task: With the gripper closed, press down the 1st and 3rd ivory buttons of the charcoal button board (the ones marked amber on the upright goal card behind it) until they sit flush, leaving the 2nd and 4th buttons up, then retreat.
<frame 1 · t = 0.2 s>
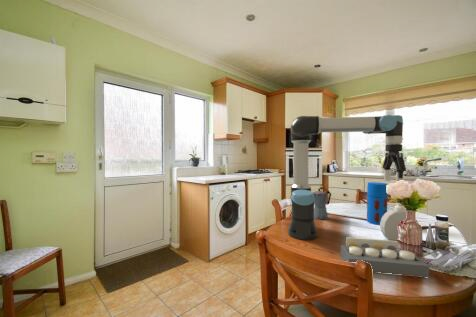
hand: (393, 182, 120), 28 cm above the table, fingers open, 13 cm apart
button 4: (406, 256, 83), point 4 cm above the table, slide at 0.0 cm
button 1: (355, 252, 87), point 4 cm above the table, slide at 0.0 cm
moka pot: (320, 217, 149), on the table
goal card: (371, 255, 94), on the table
thermos: (376, 222, 139), on the table
board: (380, 266, 85), on the table
button 3: (389, 255, 84), point 4 cm above the table, slide at 0.0 cm
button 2: (372, 253, 86), point 4 cm above the table, slide at 0.0 cm
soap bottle: (398, 239, 112), on the table
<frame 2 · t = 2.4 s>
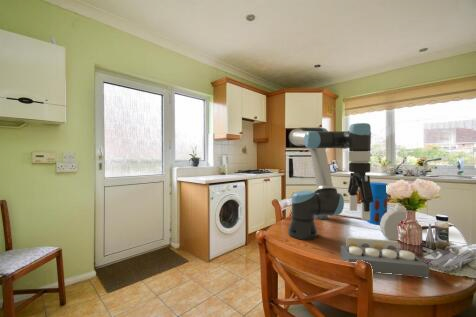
hand: (358, 214, 88), 19 cm above the table, fingers open, 13 cm apart
nothing on the table moved.
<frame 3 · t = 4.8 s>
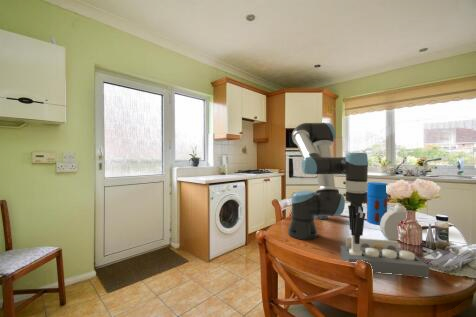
hand: (355, 250, 87), 5 cm above the table, fingers closed
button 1: (355, 254, 87), point 4 cm above the table, slide at 0.9 cm, touching gripper
everything else where it was.
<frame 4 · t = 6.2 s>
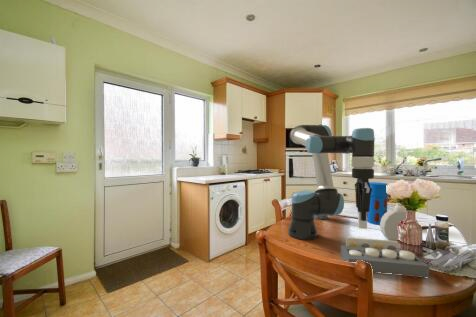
hand: (362, 227, 86), 15 cm above the table, fingers closed
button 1: (355, 256, 87), point 3 cm above the table, slide at 1.5 cm
everything else where it was.
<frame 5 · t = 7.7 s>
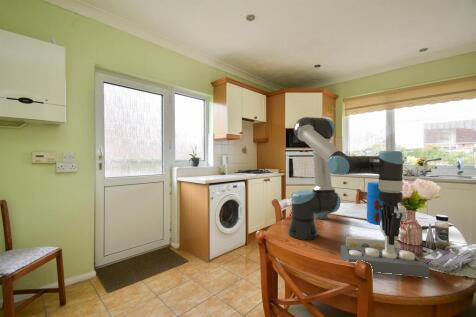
hand: (389, 251, 84), 6 cm above the table, fingers closed
button 3: (389, 256, 84), point 4 cm above the table, slide at 0.3 cm, touching gripper
everything else where it was.
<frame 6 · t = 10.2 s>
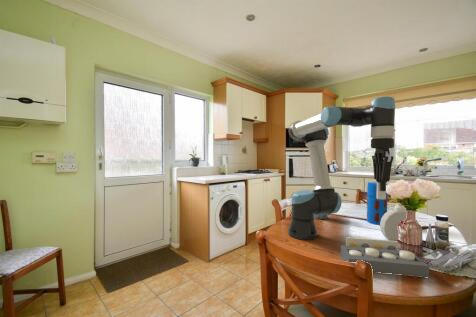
hand: (381, 198, 85), 26 cm above the table, fingers closed
button 3: (389, 259, 84), point 3 cm above the table, slide at 1.5 cm
everything else where it was.
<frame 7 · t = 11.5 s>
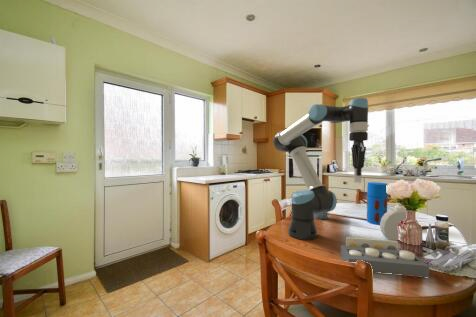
hand: (357, 182, 103), 30 cm above the table, fingers closed
nothing on the table moved.
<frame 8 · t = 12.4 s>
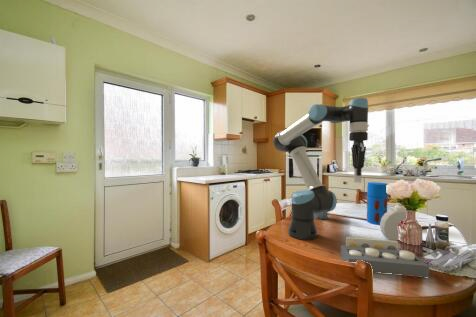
hand: (357, 182, 103), 30 cm above the table, fingers closed
nothing on the table moved.
at the end: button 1 slide at 1.5 cm; button 3 slide at 1.5 cm; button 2 slide at 0.0 cm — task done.
